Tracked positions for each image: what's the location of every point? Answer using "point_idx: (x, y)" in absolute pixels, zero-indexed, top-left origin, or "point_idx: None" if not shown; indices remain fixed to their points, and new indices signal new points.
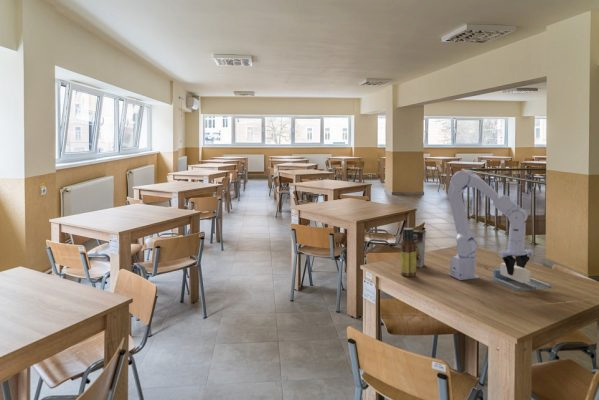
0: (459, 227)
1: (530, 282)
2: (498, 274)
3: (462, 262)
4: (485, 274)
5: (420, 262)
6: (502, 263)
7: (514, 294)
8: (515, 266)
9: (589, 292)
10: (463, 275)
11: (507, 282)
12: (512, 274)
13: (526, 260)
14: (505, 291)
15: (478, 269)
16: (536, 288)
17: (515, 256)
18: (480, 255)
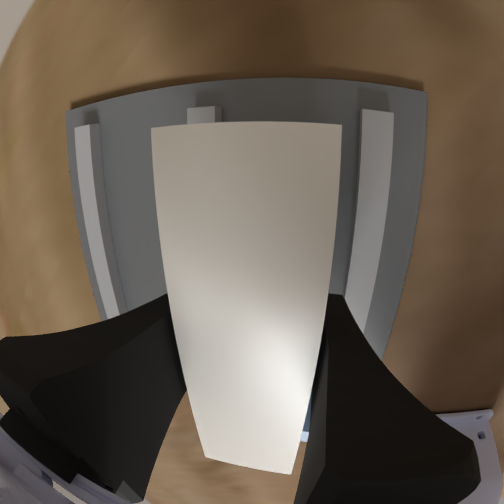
0: None
1: (140, 247)
2: None
3: (485, 492)
4: None
5: None
6: (281, 467)
7: (468, 70)
8: (228, 379)
9: (10, 56)
10: (469, 432)
11: (354, 278)
12: (330, 295)
13: (50, 349)
14: (482, 154)
15: (262, 470)
16: (191, 106)
17: (144, 490)
18: (158, 488)
